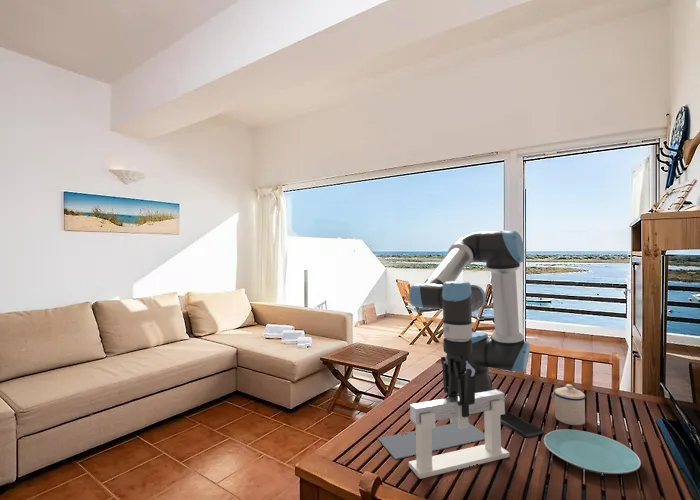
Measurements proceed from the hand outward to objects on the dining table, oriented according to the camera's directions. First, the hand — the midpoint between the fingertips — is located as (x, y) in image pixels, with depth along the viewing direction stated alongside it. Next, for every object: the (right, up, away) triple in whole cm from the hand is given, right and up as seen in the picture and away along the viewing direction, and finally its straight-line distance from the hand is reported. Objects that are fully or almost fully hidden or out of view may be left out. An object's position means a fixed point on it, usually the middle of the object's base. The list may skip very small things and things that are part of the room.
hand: (459, 424), depth 101 cm
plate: (+36, -10, +1) cm, 37 cm away
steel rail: (0, +3, 0) cm, 3 cm away
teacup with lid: (+44, -10, +25) cm, 51 cm away
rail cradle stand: (0, -10, 0) cm, 10 cm away
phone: (+25, -10, +20) cm, 34 cm away
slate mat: (-4, -10, +12) cm, 16 cm away
